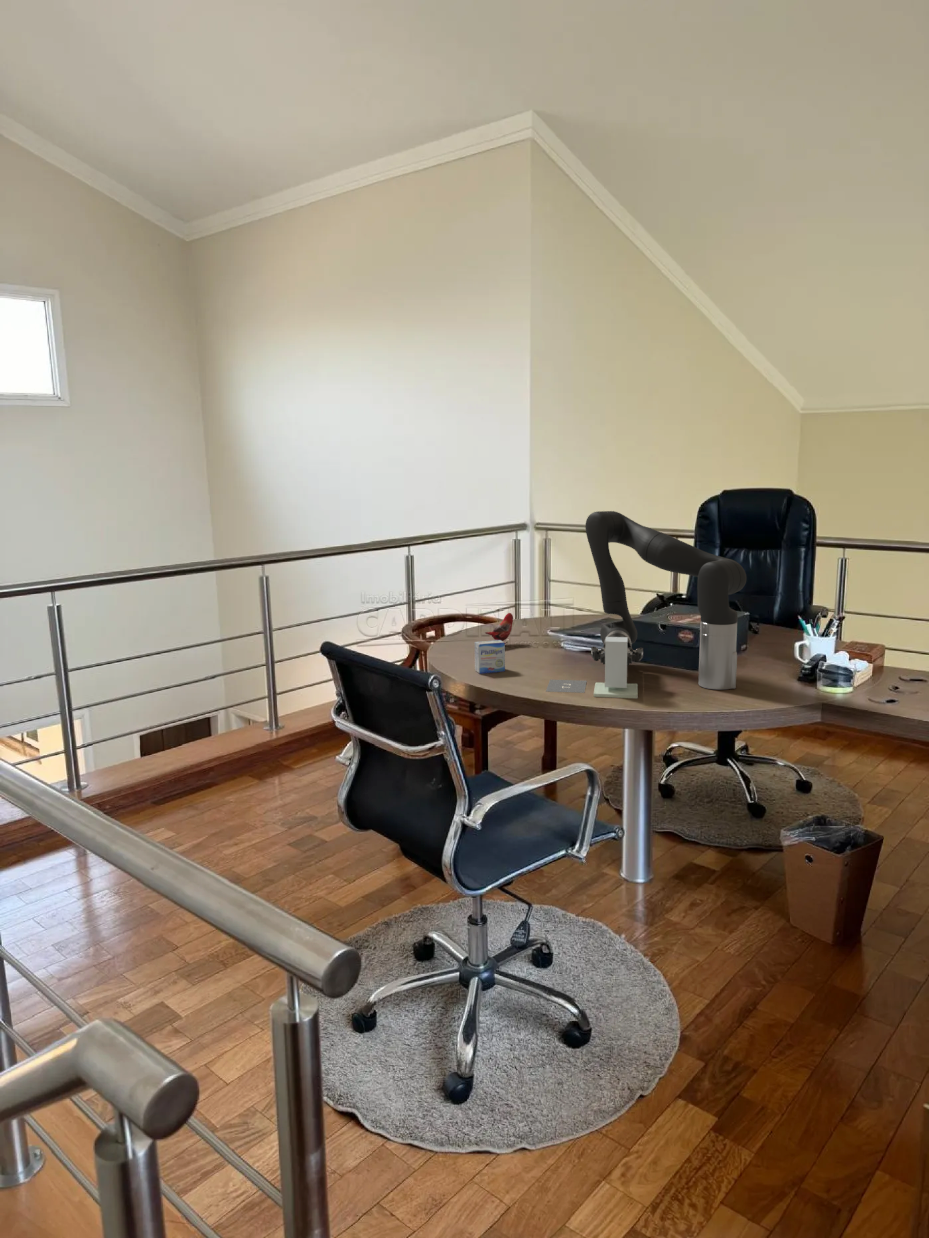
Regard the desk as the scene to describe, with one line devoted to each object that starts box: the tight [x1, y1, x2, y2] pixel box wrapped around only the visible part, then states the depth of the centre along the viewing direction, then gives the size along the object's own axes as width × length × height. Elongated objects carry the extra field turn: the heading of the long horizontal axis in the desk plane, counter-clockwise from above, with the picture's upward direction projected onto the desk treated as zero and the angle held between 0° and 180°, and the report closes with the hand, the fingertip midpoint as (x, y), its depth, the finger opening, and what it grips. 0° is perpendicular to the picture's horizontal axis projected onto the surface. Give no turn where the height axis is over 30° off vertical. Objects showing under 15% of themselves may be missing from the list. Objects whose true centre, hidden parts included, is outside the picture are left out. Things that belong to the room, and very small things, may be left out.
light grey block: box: [604, 637, 628, 688], centre depth 223 cm, size 6×6×12 cm
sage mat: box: [593, 682, 639, 699], centre depth 225 cm, size 11×11×1 cm
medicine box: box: [473, 639, 506, 675], centre depth 248 cm, size 8×4×9 cm, turn 106°
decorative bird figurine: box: [484, 612, 514, 645], centre depth 279 cm, size 3×18×10 cm, turn 147°
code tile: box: [545, 679, 588, 694], centre depth 231 cm, size 10×12×1 cm
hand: (616, 660), depth 221 cm, fingers closed on light grey block, 5 cm apart
